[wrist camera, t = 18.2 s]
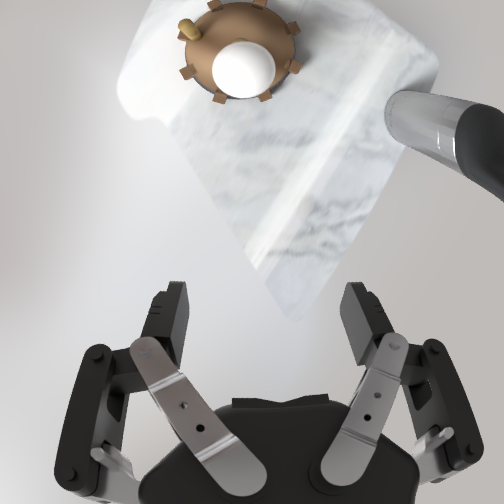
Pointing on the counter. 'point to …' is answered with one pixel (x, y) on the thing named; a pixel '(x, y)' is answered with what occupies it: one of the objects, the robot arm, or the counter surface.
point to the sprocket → (236, 40)
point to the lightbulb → (243, 69)
